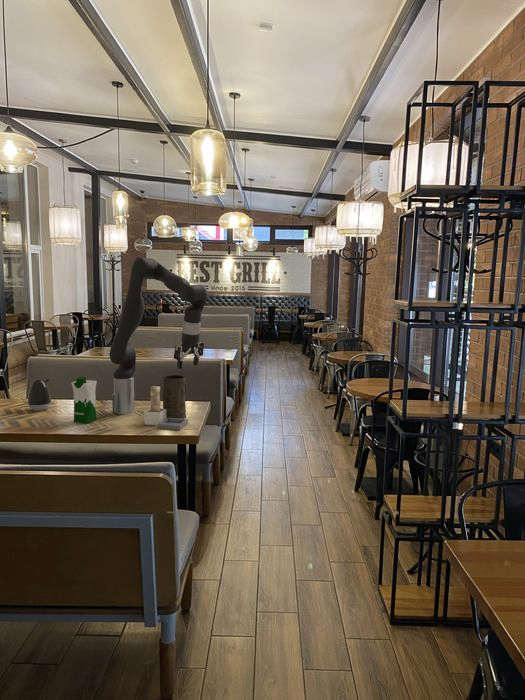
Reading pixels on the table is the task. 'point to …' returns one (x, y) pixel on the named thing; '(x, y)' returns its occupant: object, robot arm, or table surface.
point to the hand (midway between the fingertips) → (187, 366)
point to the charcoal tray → (173, 424)
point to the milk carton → (84, 400)
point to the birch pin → (155, 399)
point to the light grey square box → (154, 417)
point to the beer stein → (174, 396)
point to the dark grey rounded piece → (39, 395)
